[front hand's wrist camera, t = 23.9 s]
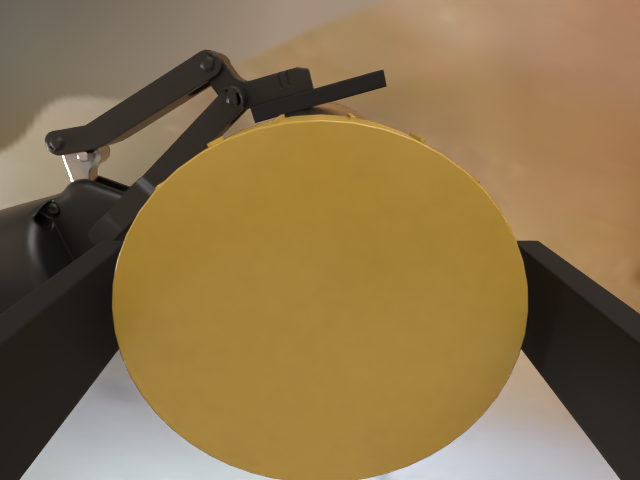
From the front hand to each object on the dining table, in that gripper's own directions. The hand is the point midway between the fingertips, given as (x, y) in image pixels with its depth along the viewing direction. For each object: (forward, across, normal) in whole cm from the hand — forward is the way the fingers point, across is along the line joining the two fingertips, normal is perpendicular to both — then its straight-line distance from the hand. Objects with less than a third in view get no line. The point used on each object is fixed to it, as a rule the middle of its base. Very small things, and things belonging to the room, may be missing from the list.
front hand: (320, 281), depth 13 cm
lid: (-3, 0, 0) cm, 3 cm away
